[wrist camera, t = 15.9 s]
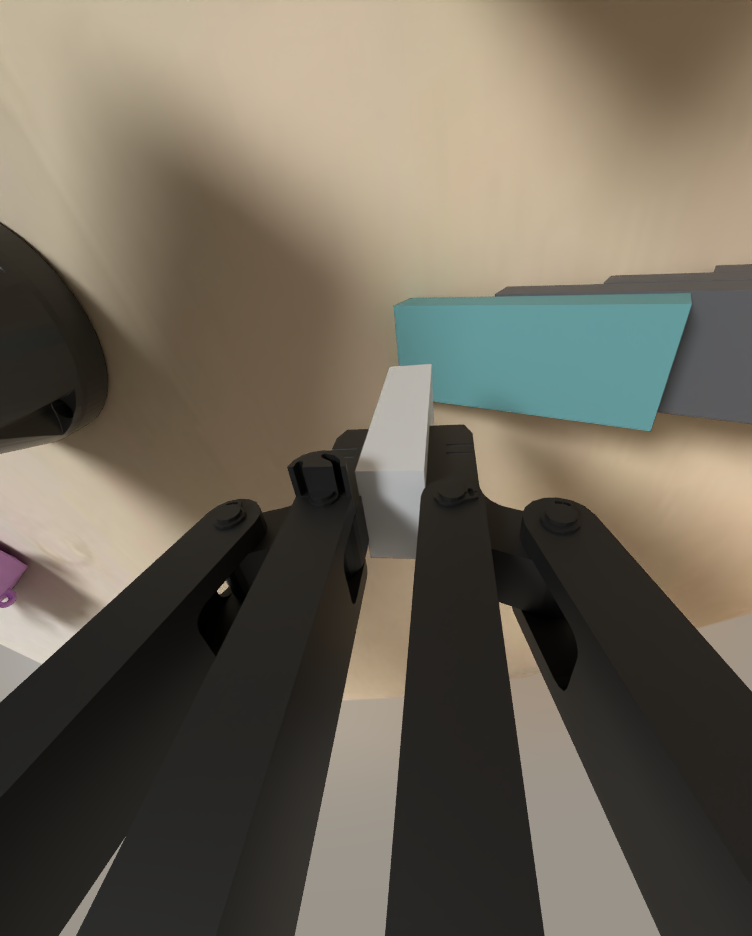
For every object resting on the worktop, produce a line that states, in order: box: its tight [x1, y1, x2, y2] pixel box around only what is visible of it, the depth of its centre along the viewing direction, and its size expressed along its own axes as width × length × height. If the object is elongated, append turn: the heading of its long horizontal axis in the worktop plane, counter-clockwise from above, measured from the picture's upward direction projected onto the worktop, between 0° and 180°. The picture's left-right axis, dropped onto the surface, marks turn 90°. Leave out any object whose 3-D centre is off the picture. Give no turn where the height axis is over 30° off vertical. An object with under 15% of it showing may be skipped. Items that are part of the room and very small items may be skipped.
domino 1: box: [394, 293, 692, 431], centre depth 18 cm, size 2×5×12 cm
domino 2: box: [495, 280, 752, 424], centre depth 17 cm, size 2×5×12 cm
